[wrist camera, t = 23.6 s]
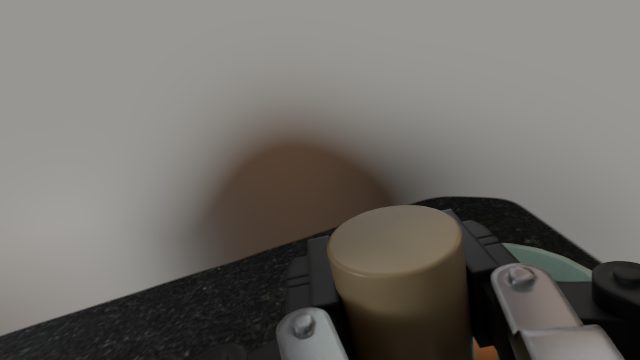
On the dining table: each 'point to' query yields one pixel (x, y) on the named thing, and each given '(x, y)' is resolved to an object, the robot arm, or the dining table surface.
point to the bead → (485, 352)
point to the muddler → (403, 285)
